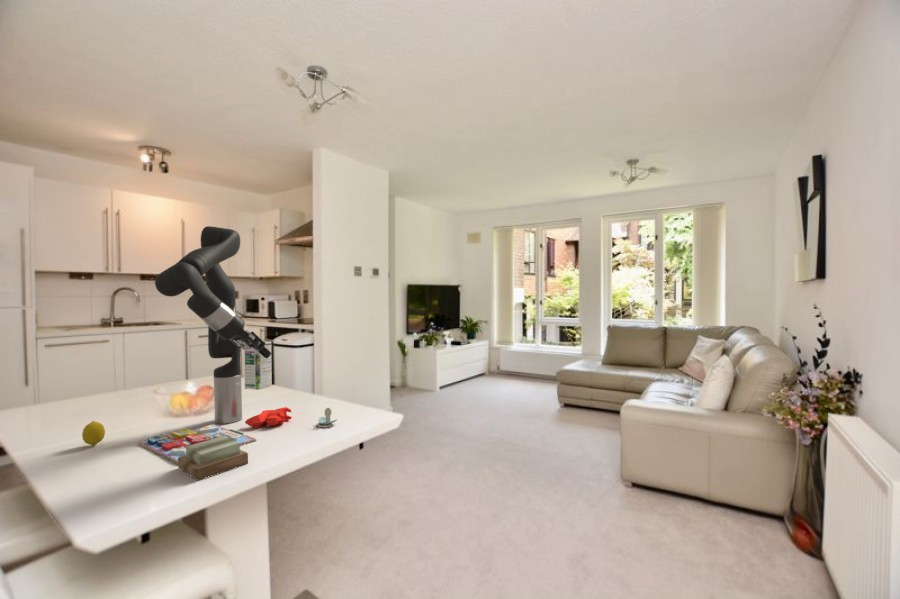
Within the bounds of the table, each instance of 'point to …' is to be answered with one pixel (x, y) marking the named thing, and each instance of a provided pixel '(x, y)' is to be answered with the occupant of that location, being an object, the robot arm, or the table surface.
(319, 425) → the pacifier
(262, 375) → the syrup box
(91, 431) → the lemon
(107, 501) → the table surface
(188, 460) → the plinth
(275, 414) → the animal figurine
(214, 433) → the puzzle board
